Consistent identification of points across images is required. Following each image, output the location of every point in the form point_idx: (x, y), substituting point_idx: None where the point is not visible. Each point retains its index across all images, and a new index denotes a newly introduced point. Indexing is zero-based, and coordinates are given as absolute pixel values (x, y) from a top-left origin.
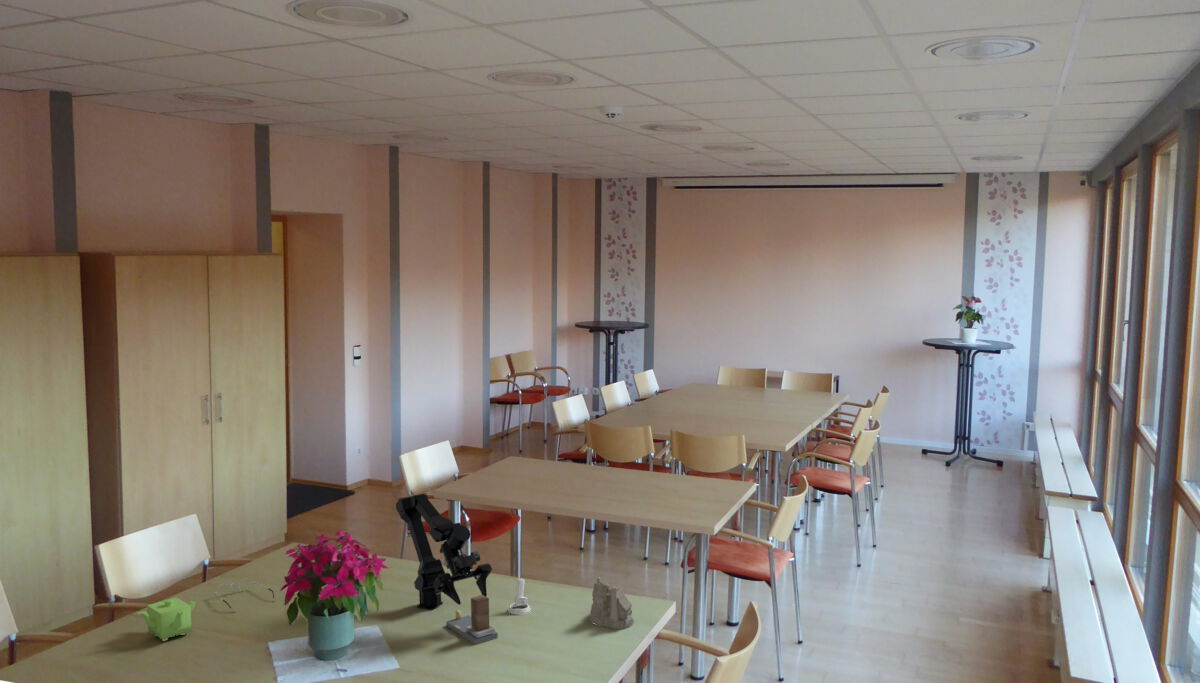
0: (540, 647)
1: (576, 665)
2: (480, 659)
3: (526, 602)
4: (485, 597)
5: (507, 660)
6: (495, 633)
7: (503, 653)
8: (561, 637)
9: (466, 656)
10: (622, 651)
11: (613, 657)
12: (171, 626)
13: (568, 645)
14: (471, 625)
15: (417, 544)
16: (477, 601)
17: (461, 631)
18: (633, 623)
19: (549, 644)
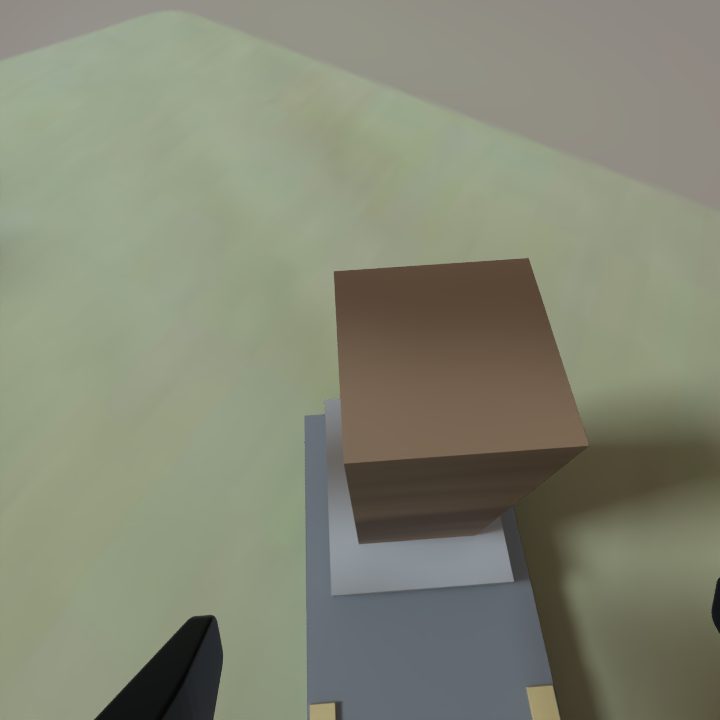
0: (202, 215)
1: (208, 64)
2: (517, 246)
3: None
4: (356, 324)
5: (404, 186)
6: (321, 415)
7: (386, 245)
8: (41, 250)
9: (578, 306)
10: (3, 70)
11: (67, 56)
12: None
13: (94, 177)
14: (478, 532)
15: None
16: (526, 260)
17: (538, 620)
18: None
19: (146, 220)
